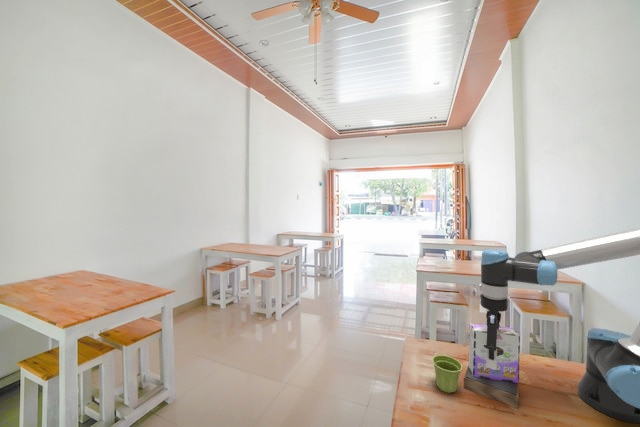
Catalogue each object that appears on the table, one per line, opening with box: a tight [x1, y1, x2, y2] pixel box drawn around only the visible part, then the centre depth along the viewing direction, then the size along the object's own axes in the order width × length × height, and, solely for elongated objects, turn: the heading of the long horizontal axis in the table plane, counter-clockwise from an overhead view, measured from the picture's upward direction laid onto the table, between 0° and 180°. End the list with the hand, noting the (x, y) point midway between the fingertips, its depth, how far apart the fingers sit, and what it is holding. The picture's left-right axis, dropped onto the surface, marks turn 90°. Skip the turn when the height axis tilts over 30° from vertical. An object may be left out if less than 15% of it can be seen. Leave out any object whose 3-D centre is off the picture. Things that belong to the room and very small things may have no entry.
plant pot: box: [431, 354, 463, 394], centre depth 91 cm, size 9×9×9 cm
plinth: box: [463, 364, 520, 409], centre depth 90 cm, size 15×9×4 cm, turn 53°
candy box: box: [468, 323, 521, 384], centre depth 92 cm, size 14×6×16 cm, turn 75°
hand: (493, 358), depth 90 cm, fingers open, 13 cm apart
